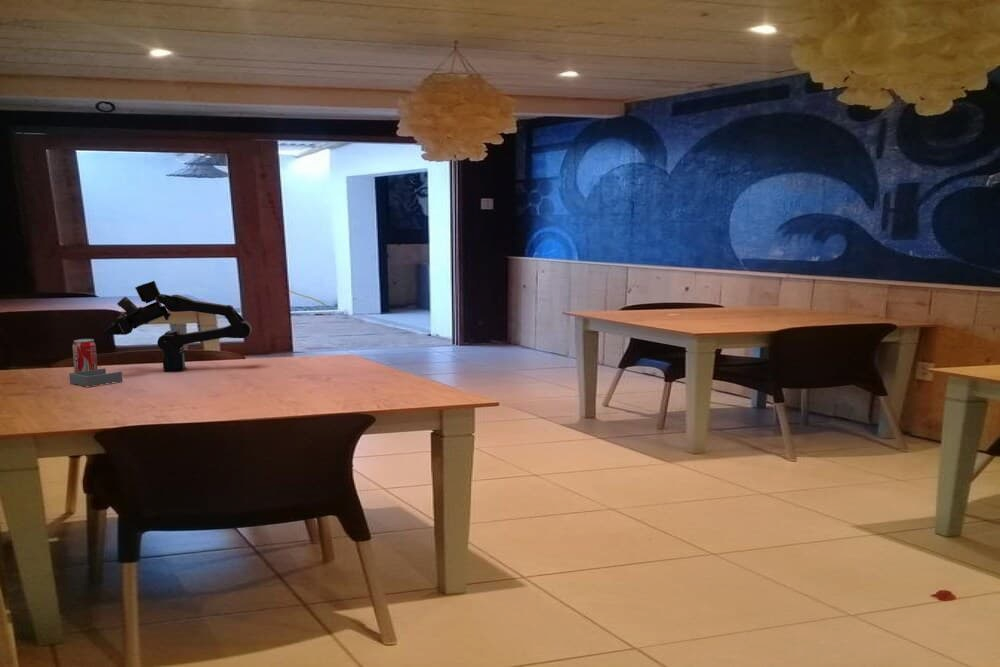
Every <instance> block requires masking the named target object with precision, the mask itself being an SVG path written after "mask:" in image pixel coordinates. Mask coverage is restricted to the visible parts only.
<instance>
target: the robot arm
mask: <svg viewBox="0 0 1000 667" xmlns="http://www.w3.org/2000/svg"><path fill="white" fill-rule="evenodd" d="M135 290H136V293H137V294H138V297H139V298H140V300H141V303H143V302H144V303H146V304H147V305H145V306H139V307H138V306H137V305H135V303H134V302H133V301H131V299H129V298H128V297H127V296H123V297H122V298H121V299H120V300H119V301H118V302H117V303H116V304H117V306H118V307H120V308H121V309H122V310H123V311H124V312H123V313H122V314H121V315H120V316H118V317H117V318H115V321H114V323H113V324H111V325H109V326H107V327H106V328H105V329H104V330H103V331H101V335H102V336H116V335H117V336H120V335H121V336H123V335H124V336H126V335H129V334H131V333H132V332H133V330H136V329H137V328H139V327H140V326H144V325H147V324H149V323H150V322H153V321H155V320H159V319H161V318H162V317H163V318H164V320H165V321H168V320H170V317H171V316H172V313H171V312H175V313H177V312H180V313H181V312H197V313H203V314H210V315H216V316H224V317H225V319H226V320H227V322H228V323H229V325H227V326H226V325H225V326H222V327H216V328H210V329H204V330H203V329H202V330H199V331H197V330H196V331H193V332H187V333H185V332H181V329H175V330H167V331H166V332H165V333H164V334H163V335H162V334H161V336H159V338H158V339H157V346H158V348H159V349H160V350H162V352H163V353H164V354H163V357H162V369H163V372H183V371H184V370H186V369H187V366H186V361H185V359H186V358H185V352H184V350H185V345H187V344H189V345H190V344H195V343H201V342H206V341H214V340H220V339H223V338H224V339H225V338H227V339H228V338H229V339H245V338H247V337H248V336H249V335H250V334H251V332H252V330H253V328H252V324H251V323H250V322H248V321H247V320H245V319H244V318H243V317H242V316H241V315H240V314H239V313H238V311H237V310H236V309H235V308H234V306H233V305H230V304H220V303H214V302H206V301H200V300H194V299H191V298H188V297H187V296H186V297H185V296H182V295H179V294H172V295H168V294H164V293H161V292H160V290H159V288H158V286H157V283H156V281H155V280H152V281H149V282H146V283H143V284H140V285H137V286H136V287H135ZM148 303H149V304H148Z"/></svg>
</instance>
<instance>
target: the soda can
mask: <svg viewBox="0 0 1000 667" xmlns="http://www.w3.org/2000/svg"><path fill="white" fill-rule="evenodd" d="M97 357H98V356H97V345H96V343H95V339H94V338H80V339H75V340H73V343H72V358H73V360H72V361H73V370H74V371H73V373H75V372H82V371H89V370H96V369H98V358H97Z"/></svg>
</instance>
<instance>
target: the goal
mask: <svg viewBox="0 0 1000 667" xmlns="http://www.w3.org/2000/svg"><path fill="white" fill-rule="evenodd" d="M106 369H107V368H105V367H104V368H97V369H96V370H89V371H82V372H75V373H74V372H69V384H71V383H73V384H72V385H75V384H78V385H77V386H79V385H83V386H93V385H100V384H106V383H112V382H118V383H120V382H119V381H123V371H114V372H110V373H109V372H108V373H107V371H106ZM112 384H113V383H112ZM106 385H107V384H106ZM83 386H82V387H83ZM100 386H101V385H100ZM93 387H94V386H93Z"/></svg>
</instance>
